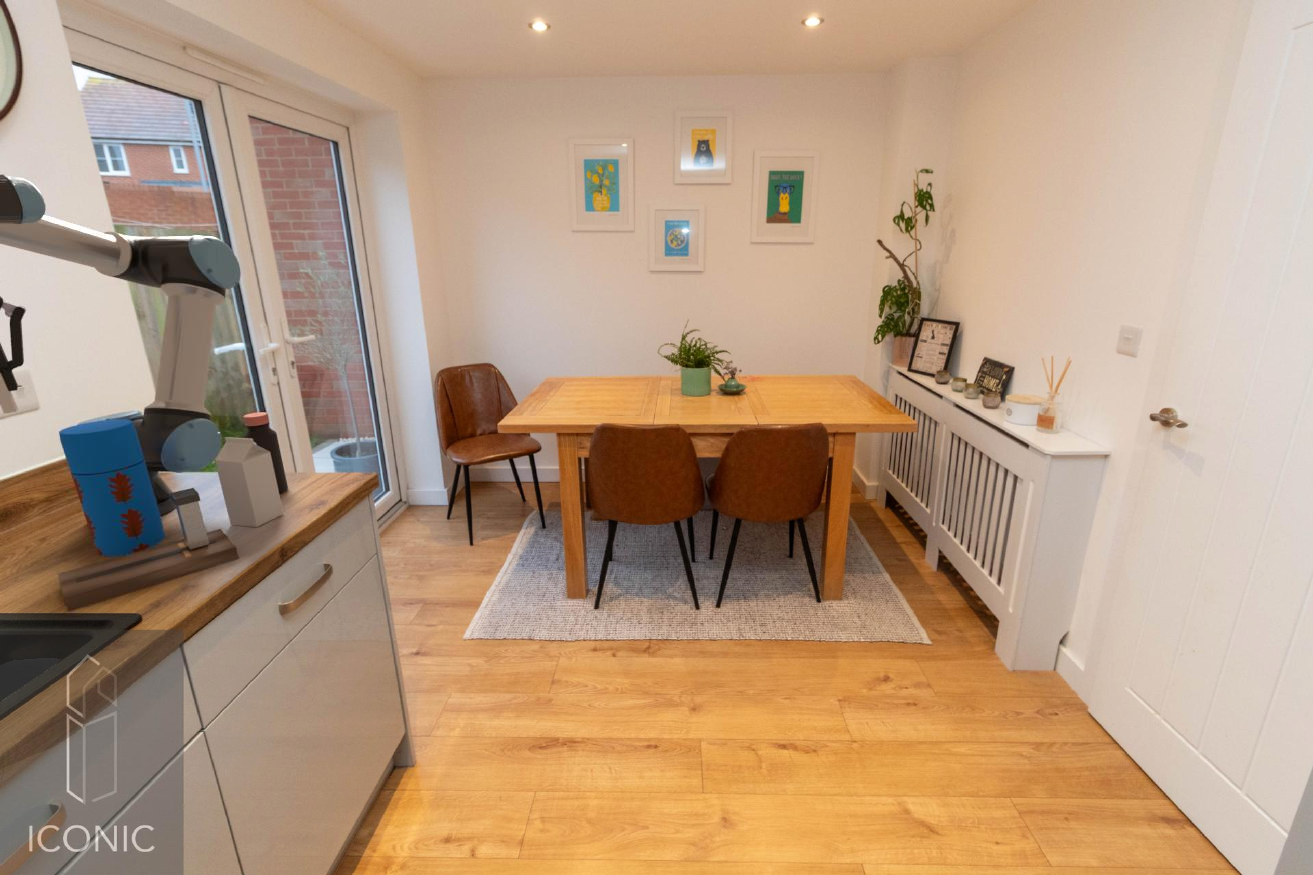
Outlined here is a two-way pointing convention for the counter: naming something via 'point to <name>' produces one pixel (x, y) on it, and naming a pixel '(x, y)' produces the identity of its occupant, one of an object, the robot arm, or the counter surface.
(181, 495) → the fader handle
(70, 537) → the counter surface
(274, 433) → the bottle
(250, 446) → the milk carton
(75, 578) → the console
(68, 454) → the thermos
